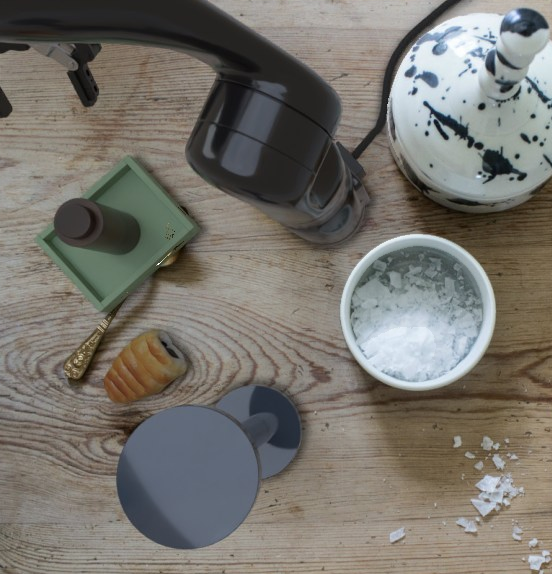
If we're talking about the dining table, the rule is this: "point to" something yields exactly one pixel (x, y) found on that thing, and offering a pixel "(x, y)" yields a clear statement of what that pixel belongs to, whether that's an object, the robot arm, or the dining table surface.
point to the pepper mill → (96, 227)
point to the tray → (149, 251)
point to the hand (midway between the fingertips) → (49, 109)
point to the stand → (205, 465)
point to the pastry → (144, 368)
